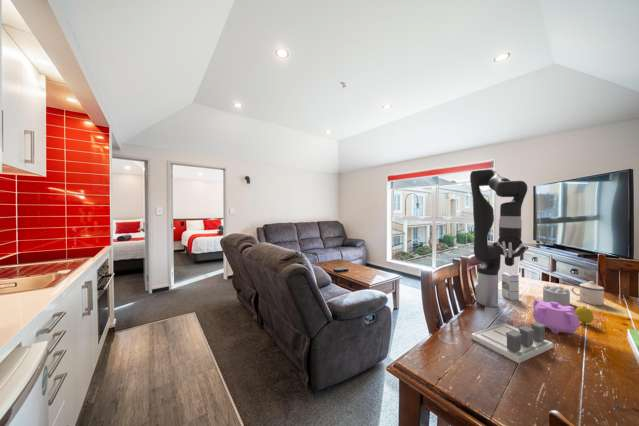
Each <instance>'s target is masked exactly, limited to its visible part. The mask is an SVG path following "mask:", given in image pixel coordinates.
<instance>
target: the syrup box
mask: <svg viewBox="0 0 639 426" xmlns="http://www.w3.org/2000/svg"><path fill="white" fill-rule="evenodd" d="M519 279H520V278H519V274H515V273H512V272H502V273H501V296H502V297H503V298H505V299H508V300H509V301H512V300H513V301H518V300H520V290H519V288H520V287H519V285H520V282H519V281H520V280H519Z"/></svg>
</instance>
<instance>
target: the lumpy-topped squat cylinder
mask: <svg viewBox="0 0 639 426" xmlns="http://www.w3.org/2000/svg"><path fill="white" fill-rule="evenodd" d="M542 302H557V303H559V305H562V306H571V305H570V304H571V291H570V290H569V289H567V288H564V287H563V286H558V285H552V284H549V285H544V286H543V287H542Z"/></svg>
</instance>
